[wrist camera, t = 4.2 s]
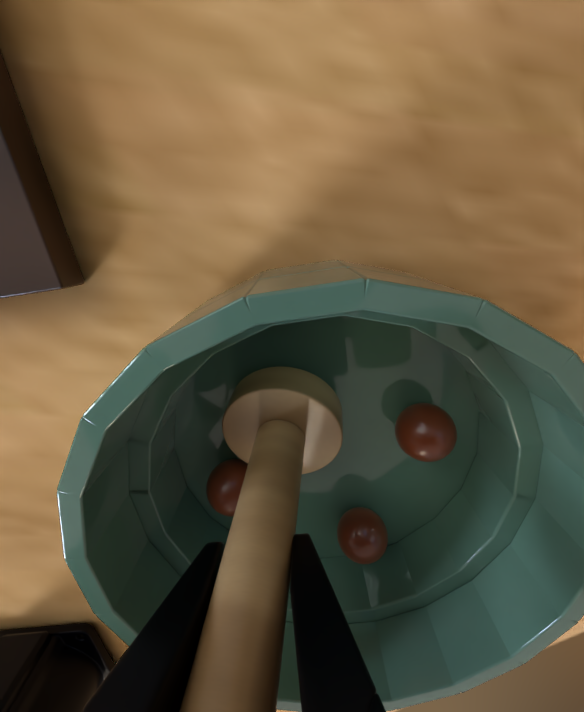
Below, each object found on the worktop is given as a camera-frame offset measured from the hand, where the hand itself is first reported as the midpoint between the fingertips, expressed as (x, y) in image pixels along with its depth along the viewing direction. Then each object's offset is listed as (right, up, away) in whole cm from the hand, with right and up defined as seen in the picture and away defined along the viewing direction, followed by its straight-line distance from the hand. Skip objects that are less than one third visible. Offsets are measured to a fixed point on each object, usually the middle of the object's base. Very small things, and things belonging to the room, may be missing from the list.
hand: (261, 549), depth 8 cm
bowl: (+2, +1, +5) cm, 6 cm away
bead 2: (+4, -2, +5) cm, 6 cm away
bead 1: (-1, 0, +4) cm, 4 cm away
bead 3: (+5, +2, +3) cm, 7 cm away
